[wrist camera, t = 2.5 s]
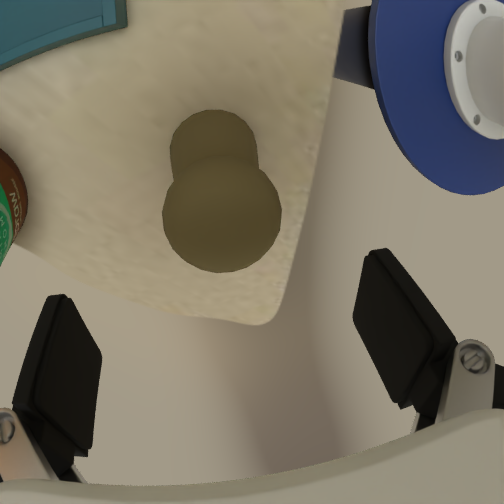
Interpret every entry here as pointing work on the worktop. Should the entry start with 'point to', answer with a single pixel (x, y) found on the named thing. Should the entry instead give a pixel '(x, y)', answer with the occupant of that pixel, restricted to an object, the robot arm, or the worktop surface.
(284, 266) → the worktop surface
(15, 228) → the food container
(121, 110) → the worktop surface
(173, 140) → the olive tapered rounded piece
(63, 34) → the tray
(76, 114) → the worktop surface
